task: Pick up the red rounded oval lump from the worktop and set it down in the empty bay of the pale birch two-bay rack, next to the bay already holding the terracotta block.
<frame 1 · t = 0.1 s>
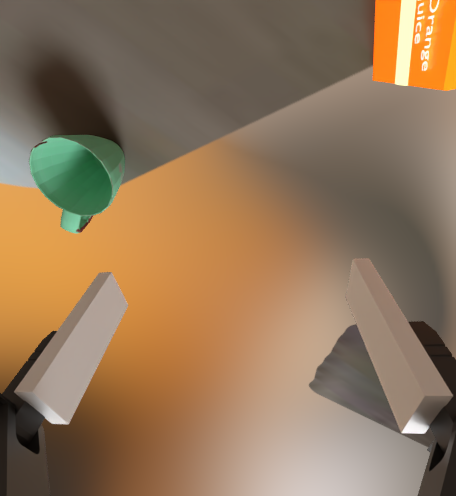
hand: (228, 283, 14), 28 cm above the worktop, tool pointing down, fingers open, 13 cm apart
mug: (106, 169, 40), on the worktop
orange juice: (409, 24, 28), on the worktop
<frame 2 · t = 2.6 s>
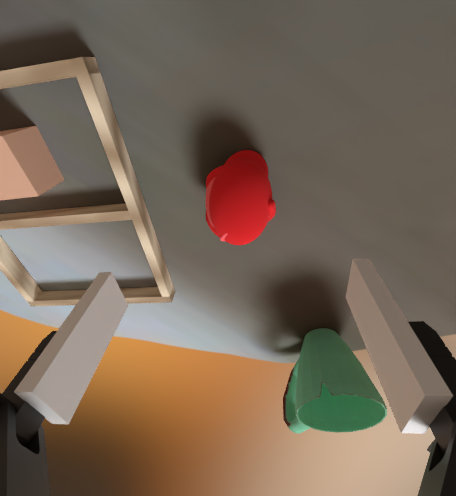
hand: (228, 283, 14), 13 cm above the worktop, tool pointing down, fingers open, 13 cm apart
mug: (310, 345, 39), on the worktop
red rounded oval lump: (241, 187, 25), on the worktop
block: (28, 156, 25), on the worktop
rack: (59, 213, 28), on the worktop
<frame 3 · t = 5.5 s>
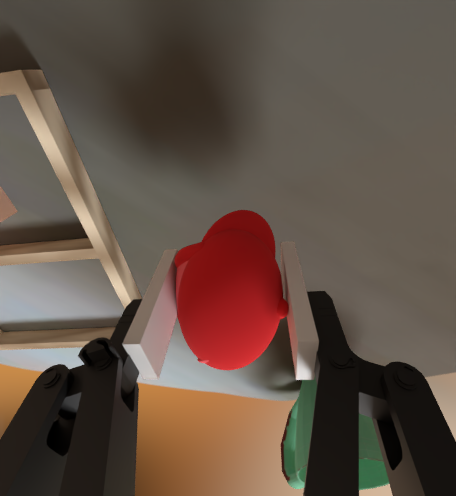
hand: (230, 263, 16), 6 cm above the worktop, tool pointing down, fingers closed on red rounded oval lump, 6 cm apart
mug: (310, 383, 35), on the worktop
red rounded oval lump: (232, 258, 16), point 6 cm above the worktop, touching gripper
rack: (14, 249, 24), on the worktop
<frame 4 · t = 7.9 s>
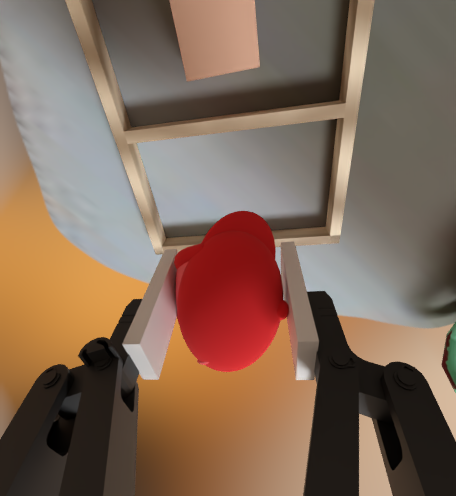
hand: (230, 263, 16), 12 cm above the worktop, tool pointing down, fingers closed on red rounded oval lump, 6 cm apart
red rounded oval lump: (232, 259, 16), point 12 cm above the worktop, touching gripper
block: (221, 32, 19), on the worktop
rack: (230, 120, 23), on the worktop
when the fingers open (0 cm above the worktop, at t = 10.4 s): red rounded oval lump stays where it is, on the worktop.
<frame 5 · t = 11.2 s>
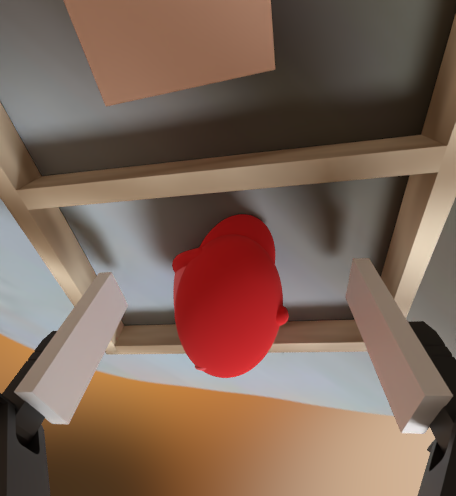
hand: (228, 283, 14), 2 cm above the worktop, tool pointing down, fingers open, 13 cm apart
red rounded oval lump: (231, 262, 16), on the worktop
rack: (215, 168, 12), on the worktop
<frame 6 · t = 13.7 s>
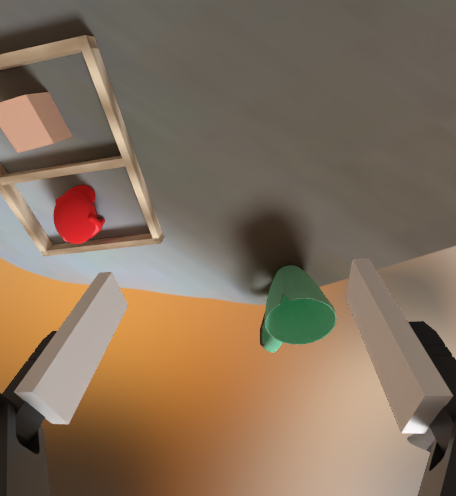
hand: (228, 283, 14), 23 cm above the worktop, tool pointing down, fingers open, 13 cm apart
mug: (282, 284, 46), on the worktop
red rounded oval lump: (89, 207, 39), on the worktop
block: (44, 119, 32), on the worktop
rack: (67, 168, 35), on the worktop
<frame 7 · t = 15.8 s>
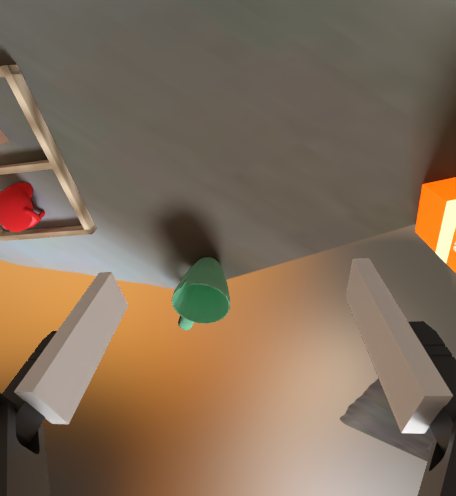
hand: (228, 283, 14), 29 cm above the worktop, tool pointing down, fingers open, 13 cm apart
mug: (203, 274, 53), on the worktop
red rounded oval lump: (30, 201, 46), on the worktop
rack: (8, 167, 42), on the worktop
orange juice: (443, 203, 41), on the worktop
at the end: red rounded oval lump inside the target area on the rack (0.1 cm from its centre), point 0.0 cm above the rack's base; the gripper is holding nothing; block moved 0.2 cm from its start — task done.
